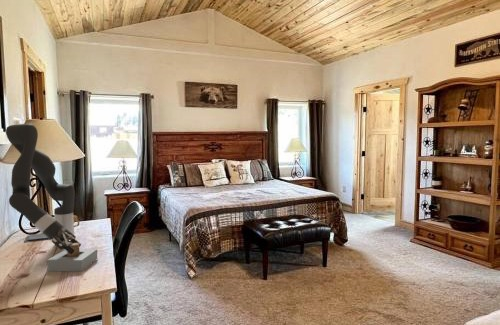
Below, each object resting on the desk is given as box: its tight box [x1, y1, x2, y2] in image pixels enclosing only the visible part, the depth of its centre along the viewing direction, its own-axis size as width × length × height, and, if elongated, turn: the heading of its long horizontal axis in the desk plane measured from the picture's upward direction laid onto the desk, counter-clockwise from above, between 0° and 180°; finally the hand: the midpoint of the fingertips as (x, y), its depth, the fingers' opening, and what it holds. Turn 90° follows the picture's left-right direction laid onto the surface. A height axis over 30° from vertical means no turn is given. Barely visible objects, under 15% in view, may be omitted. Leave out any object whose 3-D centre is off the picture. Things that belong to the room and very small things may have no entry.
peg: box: [67, 242, 80, 257], centre depth 151 cm, size 5×5×10 cm
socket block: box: [46, 248, 98, 272], centre depth 151 cm, size 15×15×5 cm
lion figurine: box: [73, 214, 80, 226], centre depth 221 cm, size 15×5×9 cm, turn 156°
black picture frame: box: [23, 233, 53, 244], centre depth 194 cm, size 20×2×15 cm
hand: (76, 249), depth 151 cm, fingers open, 8 cm apart
